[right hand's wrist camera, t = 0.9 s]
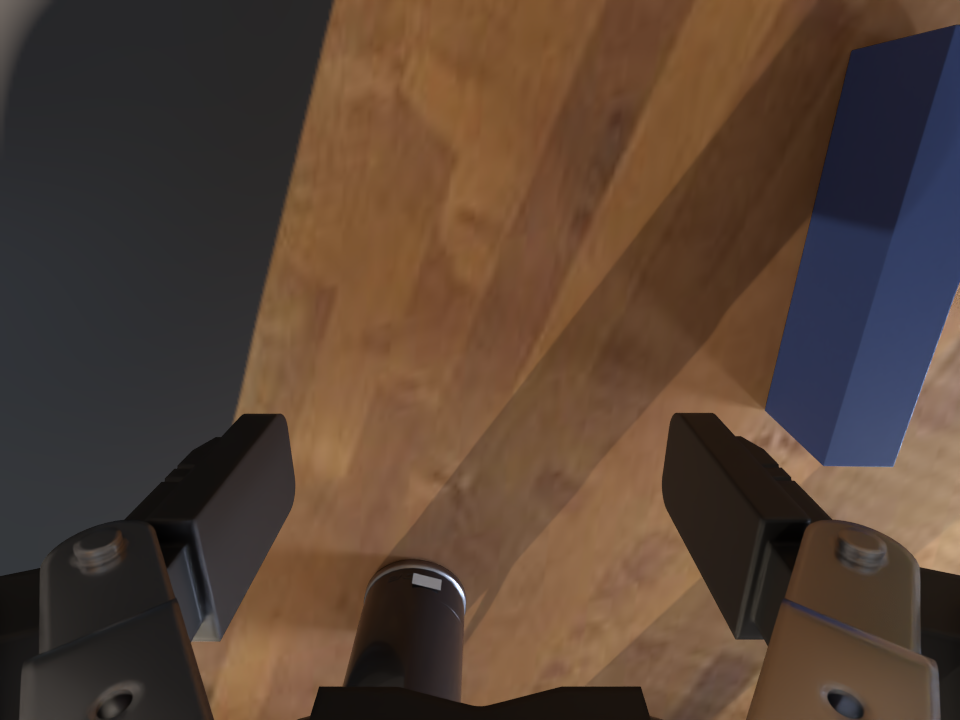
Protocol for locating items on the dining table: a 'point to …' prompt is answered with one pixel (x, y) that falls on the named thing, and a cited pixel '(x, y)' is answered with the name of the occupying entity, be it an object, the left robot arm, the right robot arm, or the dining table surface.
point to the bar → (876, 255)
